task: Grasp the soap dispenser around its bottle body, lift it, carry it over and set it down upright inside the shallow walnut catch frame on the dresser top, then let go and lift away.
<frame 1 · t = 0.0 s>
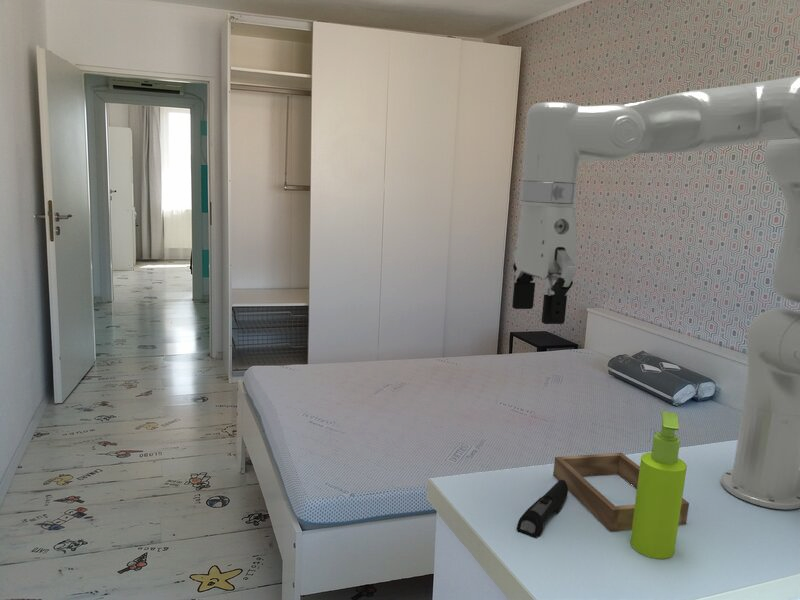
hand: (536, 315, 92), 31 cm above the table, tool pointing down, fingers open, 9 cm apart
soap dispenser: (651, 550, 90), on the table
electric trimmer: (543, 516, 98), on the table
catch frame: (615, 498, 104), on the table
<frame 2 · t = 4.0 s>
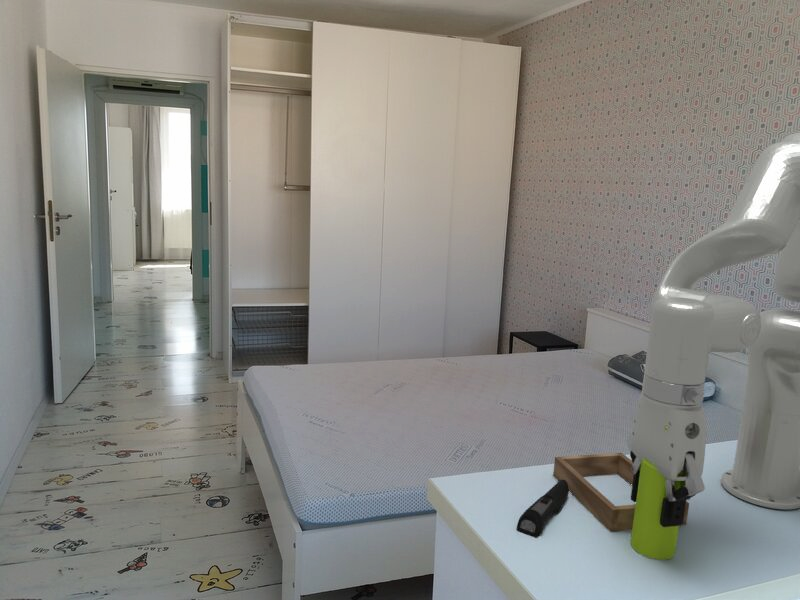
hand: (655, 511, 89), 6 cm above the table, tool pointing down, fingers closed on soap dispenser, 6 cm apart
soap dispenser: (652, 550, 90), on the table, touching gripper
everything else where it was.
when the fingers open (7 cm above the table, at t = 10.3 s): soap dispenser drops 1 cm, resting in catch frame.
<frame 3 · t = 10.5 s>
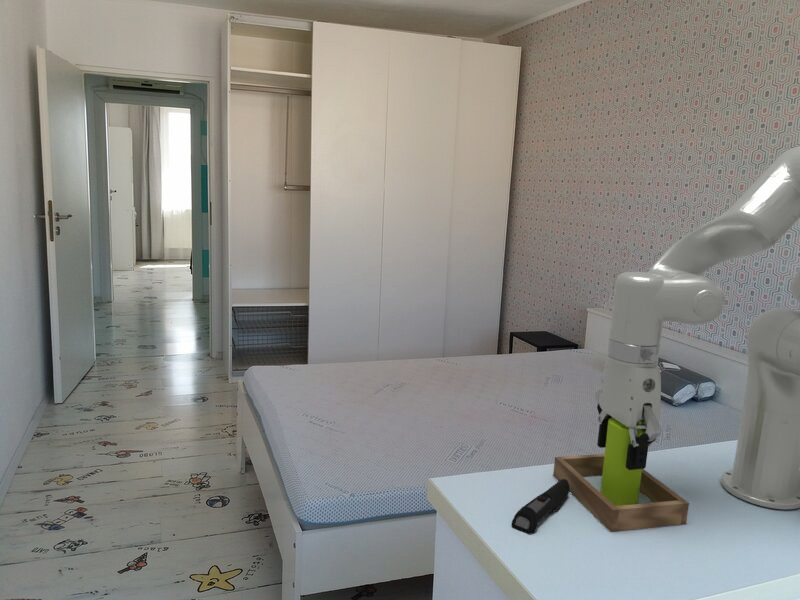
hand: (620, 456, 102), 7 cm above the table, tool pointing down, fingers open, 7 cm apart
soap dispenser: (618, 501, 103), resting in catch frame
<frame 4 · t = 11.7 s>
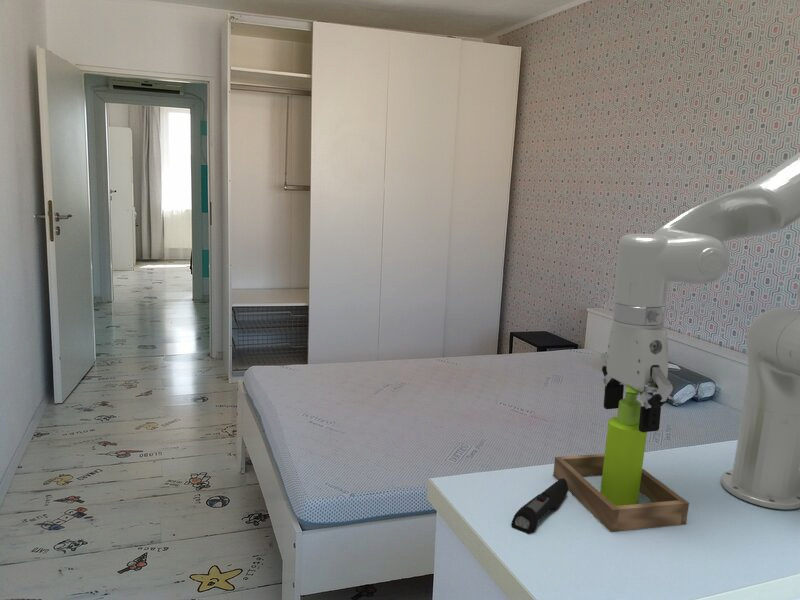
hand: (629, 418, 101), 14 cm above the table, tool pointing down, fingers open, 9 cm apart
nothing on the table moved.
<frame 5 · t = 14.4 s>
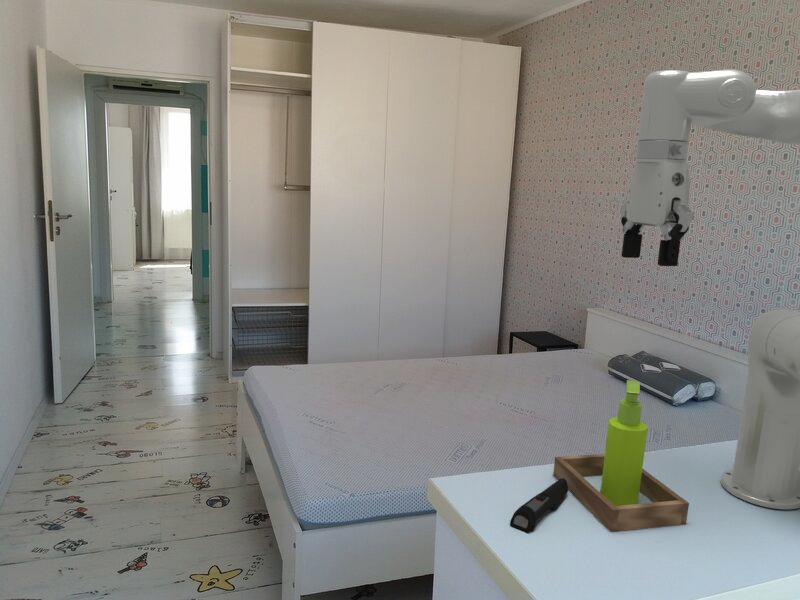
hand: (648, 261, 103), 38 cm above the table, tool pointing down, fingers open, 9 cm apart
nothing on the table moved.
at the end: soap dispenser inside the target area (0.7 cm from its centre), resting in catch frame; soap dispenser tilted 0°; the gripper is holding nothing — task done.
